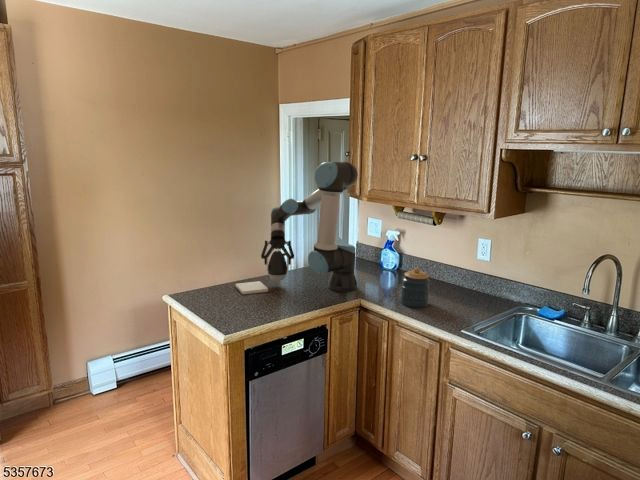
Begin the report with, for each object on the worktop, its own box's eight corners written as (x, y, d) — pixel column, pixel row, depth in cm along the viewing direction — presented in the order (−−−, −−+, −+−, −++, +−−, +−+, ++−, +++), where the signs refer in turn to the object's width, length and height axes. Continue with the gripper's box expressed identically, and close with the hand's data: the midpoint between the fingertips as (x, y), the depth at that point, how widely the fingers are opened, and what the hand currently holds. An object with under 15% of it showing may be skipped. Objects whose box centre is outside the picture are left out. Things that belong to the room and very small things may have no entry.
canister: (411, 309, 202) (414, 272, 198) (394, 300, 214) (397, 265, 210) (433, 306, 208) (437, 270, 204) (416, 297, 219) (419, 263, 215)
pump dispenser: (286, 282, 224) (287, 253, 221) (266, 281, 224) (266, 252, 221) (288, 276, 234) (288, 248, 231) (269, 276, 234) (269, 248, 231)
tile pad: (268, 291, 220) (268, 288, 220) (242, 294, 215) (242, 291, 215) (260, 283, 232) (260, 281, 232) (235, 286, 226) (235, 283, 226)
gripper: (298, 237, 241) (299, 273, 229) (257, 237, 239) (255, 273, 227) (298, 229, 235) (299, 266, 222) (256, 229, 233) (255, 266, 220)
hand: (277, 269), depth 224 cm, fingers closed on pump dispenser, 10 cm apart
